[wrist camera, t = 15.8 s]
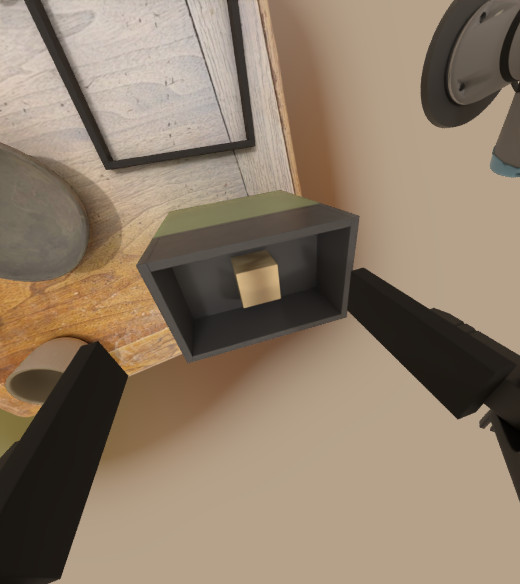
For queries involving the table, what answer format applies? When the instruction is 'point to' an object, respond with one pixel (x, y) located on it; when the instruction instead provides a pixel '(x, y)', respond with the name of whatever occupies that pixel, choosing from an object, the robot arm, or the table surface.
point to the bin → (222, 284)
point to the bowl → (38, 220)
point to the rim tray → (88, 119)
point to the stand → (230, 211)
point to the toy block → (256, 278)
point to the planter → (42, 370)
